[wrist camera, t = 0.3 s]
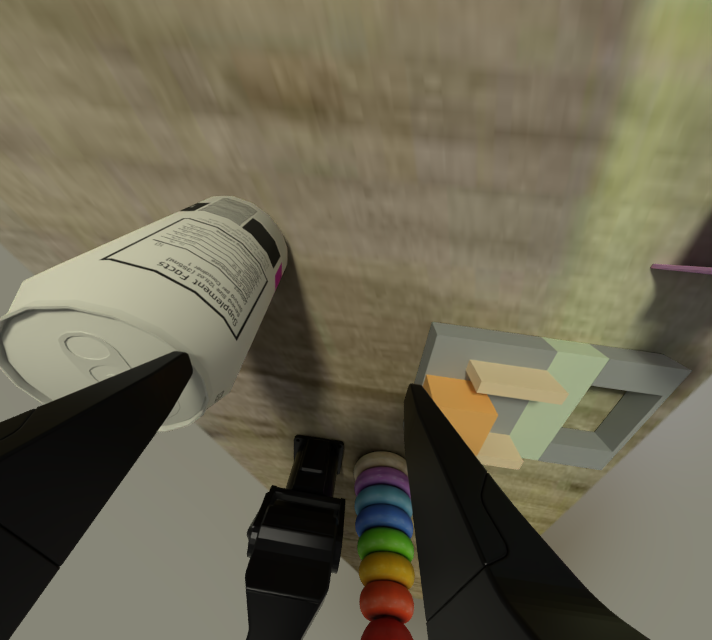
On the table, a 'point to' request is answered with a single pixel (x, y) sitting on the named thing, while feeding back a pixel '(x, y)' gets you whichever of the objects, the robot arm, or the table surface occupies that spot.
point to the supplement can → (150, 306)
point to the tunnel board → (549, 391)
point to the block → (463, 408)
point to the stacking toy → (384, 544)
